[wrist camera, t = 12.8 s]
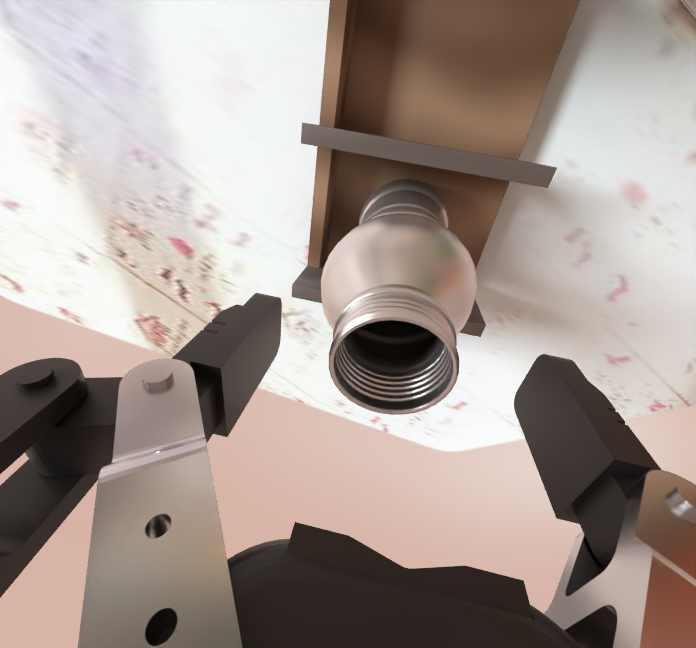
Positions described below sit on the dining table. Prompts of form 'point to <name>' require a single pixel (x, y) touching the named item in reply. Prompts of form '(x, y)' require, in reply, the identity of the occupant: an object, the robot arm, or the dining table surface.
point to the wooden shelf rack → (429, 112)
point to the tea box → (690, 6)
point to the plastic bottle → (398, 301)
